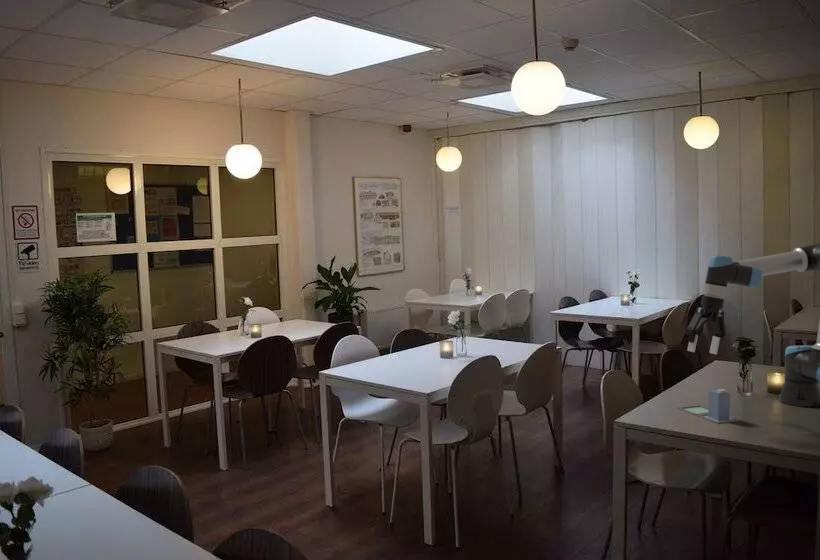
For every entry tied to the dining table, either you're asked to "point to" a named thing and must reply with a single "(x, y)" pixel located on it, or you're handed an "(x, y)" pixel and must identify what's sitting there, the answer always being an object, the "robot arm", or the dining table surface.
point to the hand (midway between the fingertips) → (702, 352)
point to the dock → (705, 413)
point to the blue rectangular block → (719, 404)
